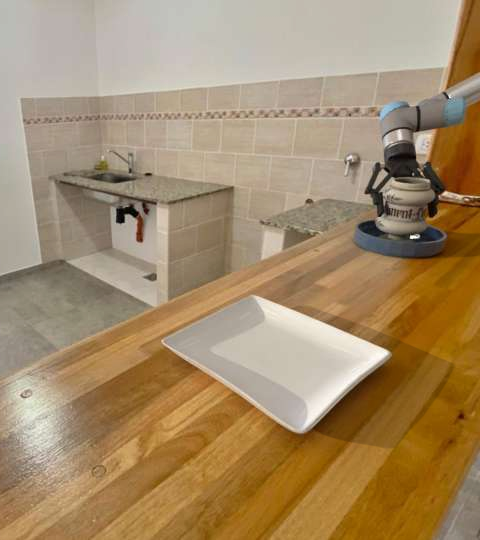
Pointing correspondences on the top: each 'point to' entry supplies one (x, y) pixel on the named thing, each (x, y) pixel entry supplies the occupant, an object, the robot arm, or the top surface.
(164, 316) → the top surface
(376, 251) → the bowl
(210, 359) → the square plate
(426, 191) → the apothecary jar
